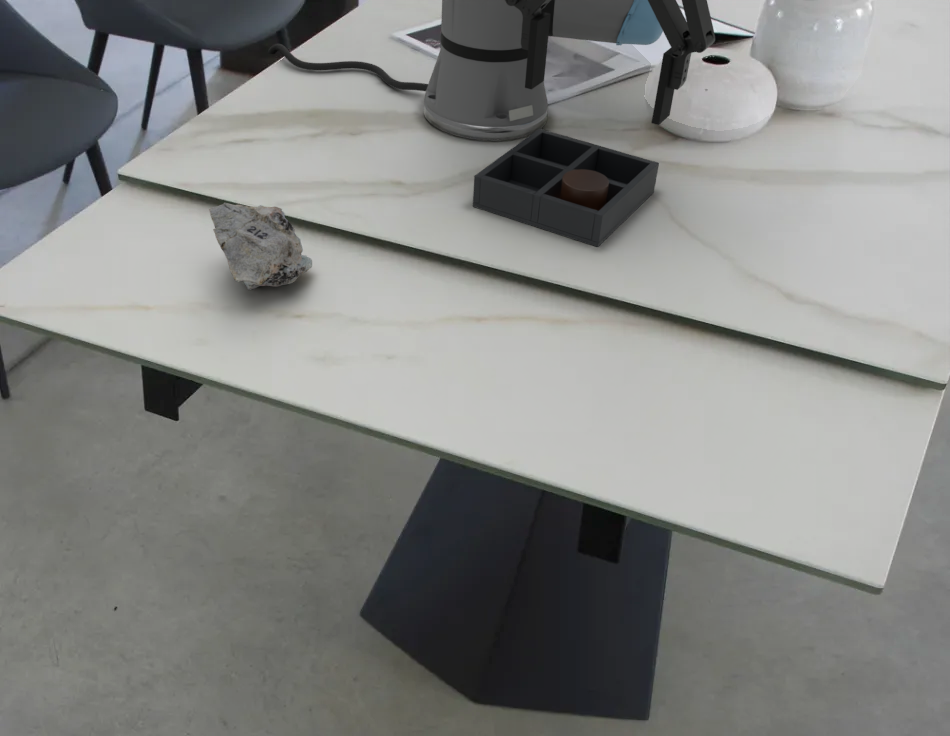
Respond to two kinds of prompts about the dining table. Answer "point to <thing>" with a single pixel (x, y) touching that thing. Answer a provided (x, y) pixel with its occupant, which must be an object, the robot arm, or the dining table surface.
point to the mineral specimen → (259, 245)
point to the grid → (540, 178)
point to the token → (585, 188)
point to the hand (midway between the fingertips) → (596, 101)
